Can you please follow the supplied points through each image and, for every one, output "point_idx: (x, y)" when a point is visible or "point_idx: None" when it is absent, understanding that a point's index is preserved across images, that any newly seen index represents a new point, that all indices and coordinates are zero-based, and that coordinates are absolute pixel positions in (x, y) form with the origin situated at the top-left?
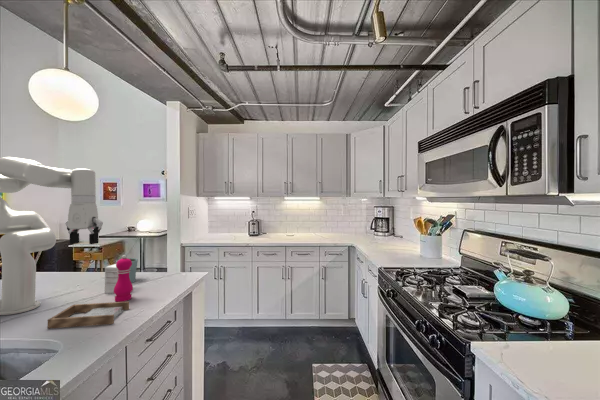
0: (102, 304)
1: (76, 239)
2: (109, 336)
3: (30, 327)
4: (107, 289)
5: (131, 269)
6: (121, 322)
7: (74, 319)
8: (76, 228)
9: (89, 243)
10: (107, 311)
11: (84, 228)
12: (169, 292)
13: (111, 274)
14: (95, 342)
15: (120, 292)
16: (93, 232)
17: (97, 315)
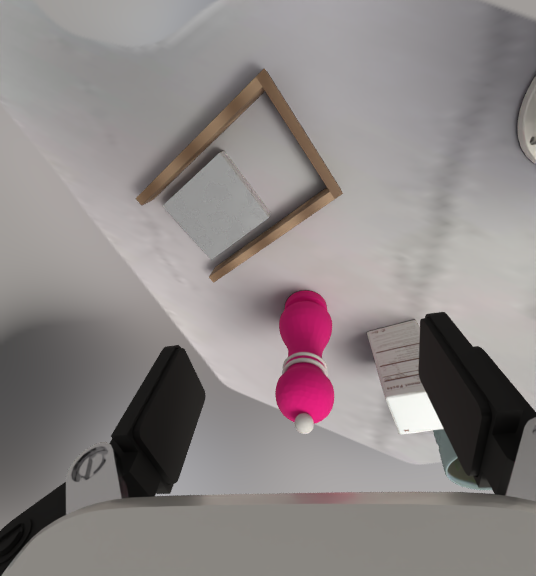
0: (261, 239)
1: (435, 387)
2: (72, 144)
3: (332, 42)
4: (408, 329)
5: (439, 434)
6: (141, 210)
7: (205, 128)
8: (275, 504)
9: (174, 346)
10: (206, 219)
11: (85, 509)
12: (246, 375)
13: (410, 369)
14: (58, 104)
15: (288, 308)
16: (79, 465)
17: (196, 188)
